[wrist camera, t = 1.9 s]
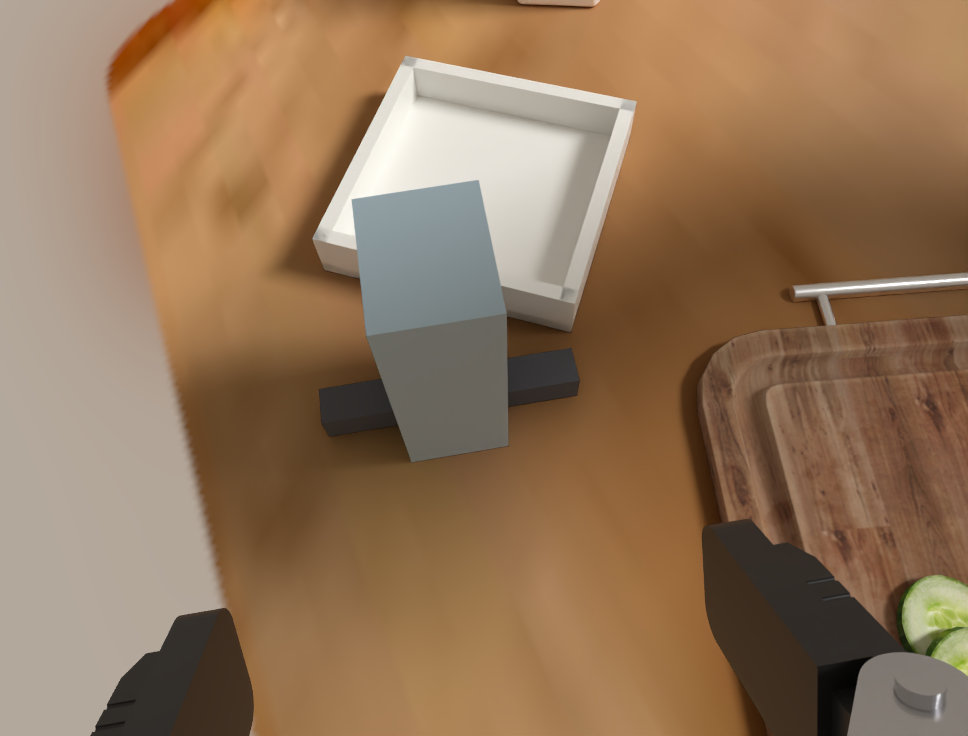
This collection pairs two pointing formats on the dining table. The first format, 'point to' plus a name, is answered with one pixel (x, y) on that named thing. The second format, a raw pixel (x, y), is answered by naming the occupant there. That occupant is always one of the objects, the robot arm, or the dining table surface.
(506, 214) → the parts tray
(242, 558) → the dining table surface
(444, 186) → the tall gray-blue pillar
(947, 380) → the chopping board
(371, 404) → the long charcoal bar
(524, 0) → the jar
